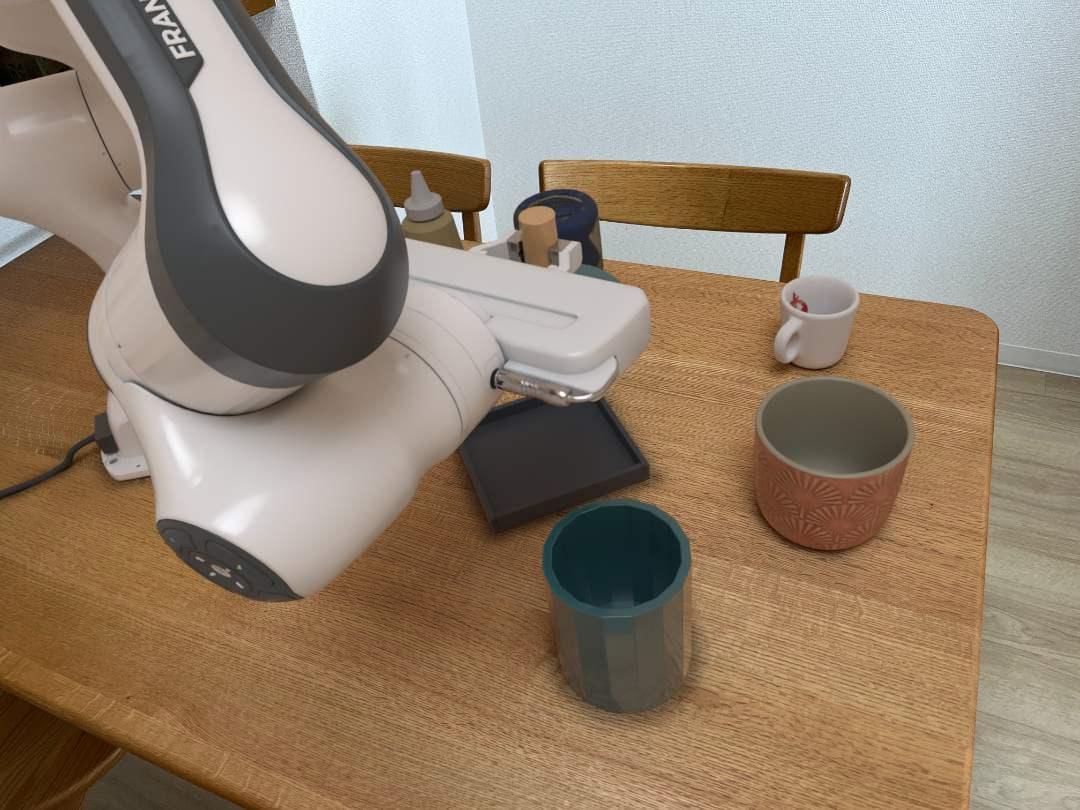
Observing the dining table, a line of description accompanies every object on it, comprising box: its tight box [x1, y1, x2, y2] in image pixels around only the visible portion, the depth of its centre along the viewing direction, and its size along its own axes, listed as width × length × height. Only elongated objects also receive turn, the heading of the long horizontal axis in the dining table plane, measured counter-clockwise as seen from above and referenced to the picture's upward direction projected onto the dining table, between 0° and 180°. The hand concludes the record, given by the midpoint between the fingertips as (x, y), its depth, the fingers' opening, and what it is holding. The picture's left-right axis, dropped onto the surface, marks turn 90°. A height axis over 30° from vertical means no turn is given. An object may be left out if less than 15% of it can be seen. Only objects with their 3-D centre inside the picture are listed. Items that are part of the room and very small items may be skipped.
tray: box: [457, 396, 651, 535], centre depth 82 cm, size 16×15×2 cm
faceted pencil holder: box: [541, 497, 693, 714], centre depth 61 cm, size 10×10×13 cm
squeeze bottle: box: [401, 169, 465, 250], centre depth 102 cm, size 8×8×18 cm
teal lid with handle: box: [518, 206, 623, 284], centre depth 55 cm, size 11×11×8 cm
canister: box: [512, 188, 605, 270], centre depth 93 cm, size 10×10×18 cm
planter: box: [753, 375, 916, 551], centre depth 70 cm, size 12×12×11 cm
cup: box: [773, 274, 861, 370], centre depth 87 cm, size 11×8×8 cm
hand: (547, 244), depth 54 cm, fingers closed on teal lid with handle, 2 cm apart
